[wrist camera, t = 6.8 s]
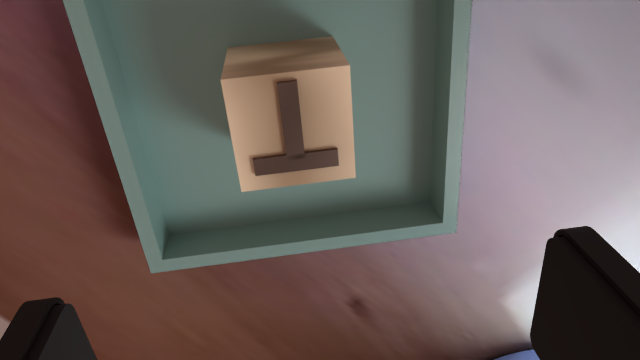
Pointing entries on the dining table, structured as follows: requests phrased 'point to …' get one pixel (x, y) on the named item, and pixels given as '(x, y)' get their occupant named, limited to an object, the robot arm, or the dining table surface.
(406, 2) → the green tray
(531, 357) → the water jug
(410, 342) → the dining table surface
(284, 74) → the letter cube
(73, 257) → the dining table surface
